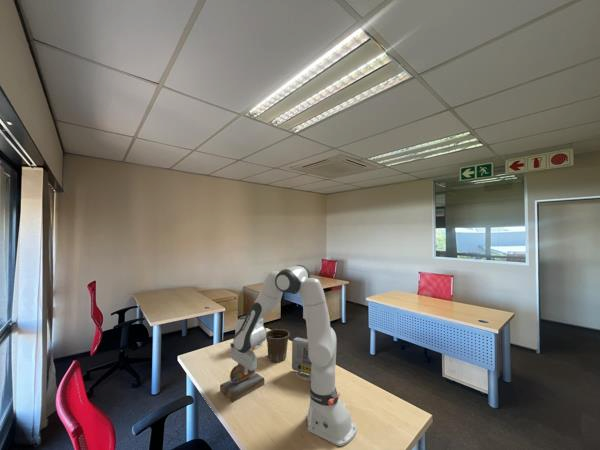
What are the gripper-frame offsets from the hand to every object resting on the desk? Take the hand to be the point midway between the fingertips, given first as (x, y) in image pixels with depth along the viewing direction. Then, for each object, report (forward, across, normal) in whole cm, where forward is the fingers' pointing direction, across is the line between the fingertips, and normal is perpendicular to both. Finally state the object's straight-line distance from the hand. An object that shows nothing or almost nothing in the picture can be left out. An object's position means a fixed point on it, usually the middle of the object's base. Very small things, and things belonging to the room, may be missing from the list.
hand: (243, 372), depth 134 cm
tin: (+4, 0, 0) cm, 4 cm away
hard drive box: (+9, +35, -32) cm, 48 cm away
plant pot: (+9, +11, -35) cm, 38 cm away
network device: (+9, -20, -34) cm, 41 cm away
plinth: (+8, 0, 0) cm, 9 cm away
